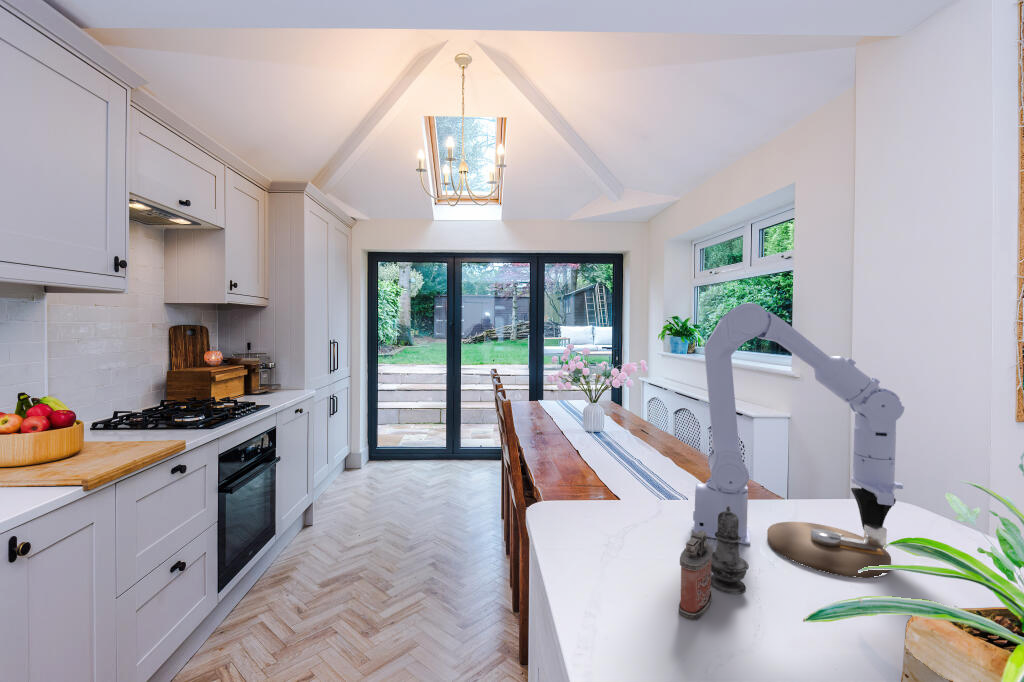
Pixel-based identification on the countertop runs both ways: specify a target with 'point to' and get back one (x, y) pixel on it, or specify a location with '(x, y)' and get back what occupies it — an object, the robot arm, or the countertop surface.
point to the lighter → (695, 577)
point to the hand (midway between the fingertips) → (871, 532)
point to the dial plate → (825, 550)
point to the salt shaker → (728, 556)
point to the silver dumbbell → (872, 539)
